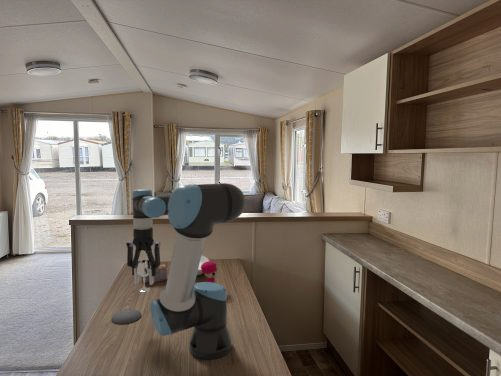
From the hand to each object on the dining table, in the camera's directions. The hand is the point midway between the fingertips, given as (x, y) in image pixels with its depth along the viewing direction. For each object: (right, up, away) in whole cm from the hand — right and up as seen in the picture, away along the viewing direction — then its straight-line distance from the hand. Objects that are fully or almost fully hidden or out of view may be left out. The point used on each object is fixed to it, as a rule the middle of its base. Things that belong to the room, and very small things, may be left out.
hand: (144, 283), depth 137 cm
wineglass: (0, -3, 0) cm, 3 cm away
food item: (-10, -13, +50) cm, 53 cm away
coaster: (-10, -16, +7) cm, 20 cm away
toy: (+22, -14, +37) cm, 46 cm away
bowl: (+11, -12, +66) cm, 68 cm away
